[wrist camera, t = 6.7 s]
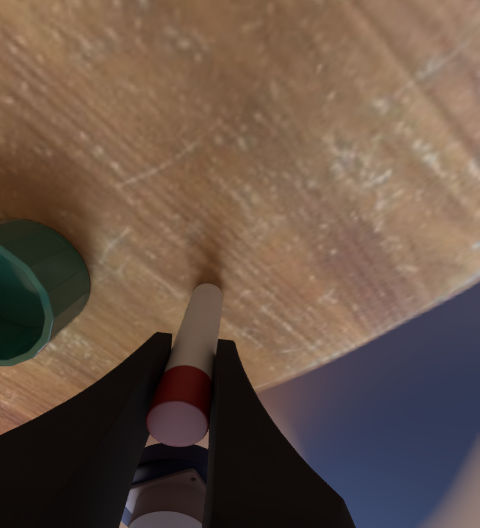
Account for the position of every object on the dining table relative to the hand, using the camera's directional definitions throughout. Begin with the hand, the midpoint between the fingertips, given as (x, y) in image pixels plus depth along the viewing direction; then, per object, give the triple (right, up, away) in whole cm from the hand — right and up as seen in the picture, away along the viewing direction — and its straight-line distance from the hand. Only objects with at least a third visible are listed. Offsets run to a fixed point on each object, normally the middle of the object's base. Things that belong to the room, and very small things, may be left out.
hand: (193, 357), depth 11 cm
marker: (0, +2, +5) cm, 5 cm away
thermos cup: (-10, +3, +5) cm, 12 cm away
